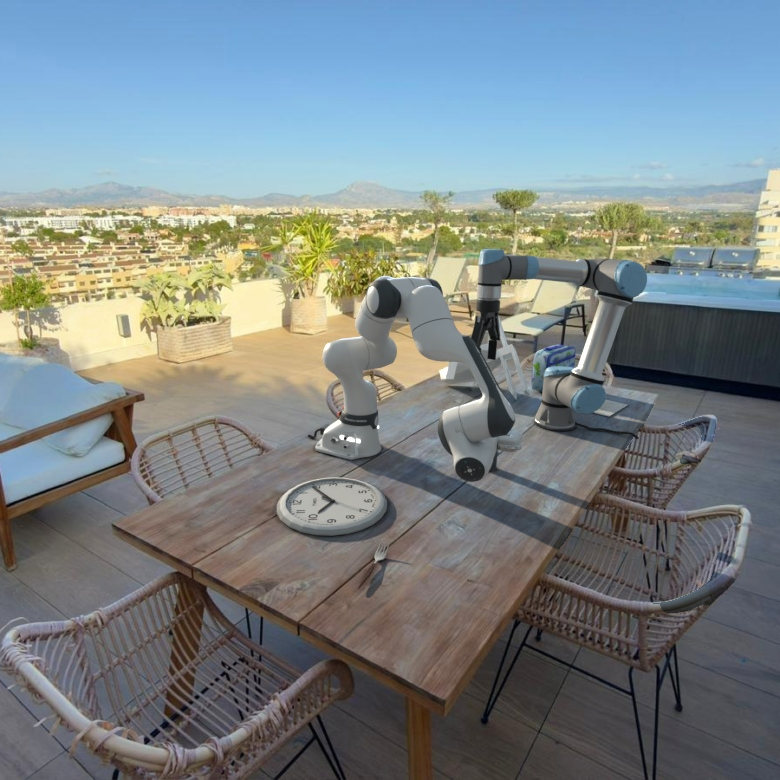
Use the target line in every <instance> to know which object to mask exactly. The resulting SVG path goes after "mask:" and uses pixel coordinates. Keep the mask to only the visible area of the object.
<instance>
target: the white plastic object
mask: <svg viewBox="0 0 780 780" xmlns="http://www.w3.org/2000/svg"><path fill="white" fill-rule="evenodd" d="M498 320H499V329H500V342H501V345H502V347H500V348H498V349H497V350H496V360H492V359H487V358H488V345H489V342H487V343H483V344H481V346H480V348H481V353H482V355H483V357H484V359H485V361H486V362H487V364H488V366H489V368H490V370H491V372H492V373H493V372H494V371H495V370H496V369H497V368H499V367H500V366H502V370H503V373H504V376H505V380H506V383H507V386H508V390H509V393H510V394H511V395H512V397H513V398H514V399H515V400H517V392H516V391H517V390H516V388H515V385H514V381H513V378H512V375H511V371H510V369H509V365H508V361H510V360H513V363H514V366H515V369H516V372H517V376H518V380H519V382H520V385H521V389H522V391H523V393H524V395H525V396H526V397H528V396H531V395H530V390H529V388H528V387H529V386H528V384H527V381H526V378H525V375H524V371H523V369H522V368H523V367H522V366H521V362H520V359H519V355H518V352H517V349H516V347H515V346H514V345H513V343H511V344H508V341H507V337H506V334H505V331H504V328H503V325H502V321H501V318H500V315H498ZM438 372H439V376H440V381H442V383H443V384H444V385H445V386H449V385H458V384H467V383H468V384H469V383H473V384H477V382H476V380H475V378H474V376H473V374H472V372H471V370H470V369H469V367H468V366H467V365H466V364H464V363H461V362H448V366H446V367H444V368H442V369H440V370H439V371H438Z"/></svg>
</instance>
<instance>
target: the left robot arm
mask: <svg viewBox="0 0 780 780" xmlns="http://www.w3.org/2000/svg"><path fill="white" fill-rule="evenodd" d="M365 292H366V293H365V295H364V297H363V299H362V301H361V304H360V307H359V308H358V309H359V310H358V312H357V315H356V317H355V319H354V325H355V329H356V330H355V331H356V332H357V333H358V335H360V336H356V337H346V338H339V339H335V340H333V341H331V342H328V343H326V344H325V346H324V347H323V350H322V356H321V357H322V362H323V365H324V367H325V368H326V370H328V371H329V372H330V373H331V374H333V375H334V376H335V377H336V378H337V379H338V381H339V383H340V385H341V388H342V395H343V406H342V407H341V408H340V410H339V411H338V412H337V415H336V417H337V418H338V419H337V420H335V421H334V422H332V423H331V424H328V423H327V424H325V425H323V426H321V427H319V428H317V429H315V430H314V433H313V435H311V434H308V435H307V437H308V438H310V439H315V438H316V437H317V435H318V432H320V433H319V434H320V435H321V436H322V438H321V439H319V440H318V441H317V443H316V444H315V448H314V449H315V451H316V452H318V453H324V454H327V455H331V456H334V457H338V458H342V459H346V460H349V461H353V460H357V459H360V458H368V457H369V458H370V457H372V456H375V455H377V454H379V453H380V452H381V451H382V445H381V443H380V438H379V430H378V429H380V425H379V417H380V416H379V409H378V389H377V387H376V386H375V384H374V383H373V382H371V381H369V380H367V379H365V378H364V374H363V373H364V372H365V371H369V370H376V369H382V368H384V367H387V366H389V365H392V364H393V363H394V362H395V361H396V359H397V356H398V348H397V345H396V342H395V340H394V339H393V338H392V337H391V336H390V333H391V331H392V327H393V326H394V323H395V321H396V319H397V320H400V319H407V320H408V322H409V328H410V332H411V335H412V339H413V342H414V345H415V347H416V349H417V351H418V353H419V354H420V355H421V356H423V357H424V358H426V359H427V360H431V361H434V362H441V363H443V362H445V363H449V362H461V363H464V364H466V365H467V366H468V367H469V369H470V370H471V372H472V374H473V376H474V378H475V380H476V382H477V383H476V384H477V386H478V388H479V390H480V393H481V395H482V396H481V397H480V398H478V399H475V400H472V401H470V402H466V403H463V404H459V405H456V406H453V407H451V408H448V409H446V410H443V411H442V413H441V414H440V416H439V419H438V423H437V434H438V438H439V441H440V443H441V445H442V447H443V449H445V451H446V452H447V453H448V454H449V455H451V456H452V460H453V470H454V472H455V474H456V476H457V477H458V478H459V479H460V480H462V481H465V482H468V483H474V482H475V483H476V482H479V481H482V480H483V479H484V478H485V477H486V476H487V475H488V473H490V472H489V470H490V468H491V466H492V463H493V458H494V456H495V453H496V450H498V451H500V452H506V453H515V452H517V451H521V450H522V447H523V445H522V441H523V433H522V432H521V431H519V430H513V427H514V426H515V423H516V416H515V411H514V409H513V406H512V405H511V403H510V402H509V400H508V399H507V397H506V396H505V394H504V393H503V391H502V389H501V388H500V386H499V383H498V381H497V380H496V378H495V376H494V374H493V371H492V372H491V370H490V368H489V366H488V364H487V362H486V361H485V359H484V357H483V355H482V353H481V352H480V350H479V348H478V346H477V345H476V343H475V342H474V341H473V340H472V338H471V336H470V335H467V334H462V333H461V332H460V330H459V329H458V328H457V326H456V324H455V321H454V318H453V315H452V313H451V309H450V308H449V305H448V303H447V300H446V298H445V297H444V291H443V288H442V286H441V284H440V283H439V281H438V280H436V279H433V278H431V277H425V276H424V277H414V276H403V277H392V276H389V275H382V276H378V277H377V278H375V280H374V281H372V282H371V283H370V284H369V285H368V287H367V288H366V291H365Z"/></svg>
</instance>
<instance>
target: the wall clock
mask: <svg viewBox="0 0 780 780" xmlns="http://www.w3.org/2000/svg"><path fill="white" fill-rule="evenodd" d="M387 509H388V500H387V498H386V496H385V494H384V493H383V492H382V491H381V490H380V489H379V488H377V487H376V486H374V485H372V484H371V483H369V482H365V481H362V480H359V479H355V478H349V477H338V476H337V477H335V476H333V477H332V476H331V477H322V478H317V479H312V480H307V481H305V482H302V483H299V484H297V485H295V486H293V487H292V488H290V489H288V490H287V491H286V492H285V493H284V494H283V495H281V496H280V498H279V499H278V502H277V503H276V515H277V517H278V518H279V520H280V521H281V522H282V523H283V524H285V525H286V526H287V527H288V528H290V529H293V530H295V531H297V532H299V533H303V534H308V535H312V536H327V537H328V536H329V537H331V536H332V537H333V536H342V535H350V534H352V533H356V532H361V531H363V530H366V529H368V528H369V527H372V526H373V525H375V524H376V523H378V522H379V521H380V520H381V519H382V518H383V517H384V516H385V514H386V512H387Z"/></svg>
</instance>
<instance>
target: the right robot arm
mask: <svg viewBox="0 0 780 780" xmlns="http://www.w3.org/2000/svg"><path fill="white" fill-rule="evenodd" d="M477 273H478V274H477V275H478V276H477V287H476V289H475V290H476V298H477V299H476V301H475V302H476V303H475V310H476V311H477V312H480V313H479V315H475V318H474V325H473V328H472V333H471V336H470V337H471V338H472V340H473V341H474V342H475V343H476V345H477V346H478V348H479V350H480V352H481V348H480V346H481V345H482V343H483V341H484V338H485V336H486V335H485V334H486V332H487V333H488V337H489V339H488V344H489V345H488V358H487V359H492V360H496V350H498V349H497V348H498V341H500V342H501V338H500V329H499V320H498V316H499V315H500V314H499V312H500V309H501V300H500V299H501V298H502V288H503V287H502V284H503V281H506V280H507V281H511V280H512V281H515V280H516V281H518V280H519V281H527V280H528V281H529V280H539V281H550V282H560V283H570V284H572V285H573V286H575V287H583V288H586V289H590V290H594V291H597V294H596V297H597V299H598V302H599V303H598V305H597V308H596V312H595V314H594V317H593V320H592V323H591V326H590V329H589V331H588V334H587V338H586V340H585V343H584V347H583V349H582V352H581V355H580V358H579V361H578V364H577V366H576V367H574V368H573V367H562V366H557V367H549V368H547V369H546V370H545V374H544V382H543V392H542V391H541V393H542V394H541V402H540V405H539V407H538V410H537V411H536V413H535V416H534V424H535V425H536V426H537V427H539V428H542V429H544V430H549V431H556V432H567V431H572V430H574V429H575V428H576V426H578V427H581V428H583V429H586V430H589V431H594V432H595V431H597V432H598V431H599V432H606V433H611V434H615V435H629V436H632V437H633V438H634V439H636V440H639V439H640V438H639V436H638V435H637V434H636V433H634V432H631V431H619V430H618V431H617V430H613V429H608V428H602V427H591V426H588V425H586V424H582V423H580V422H577V421H576V418H575V417H576V416H575V413H574V412H577V413H579V414H583V415H590V414H594V413H593V412H595V411H597V410H598V409H599V408H600V407H601V406H602V405H603V404H604V402H605V399H606V400H607V392H606V390H605V388H604V387H603V386H604V383H605V377H604V375H603V372H604V369H605V366H606V364H607V360H608V358H609V355H610V353H611V349H612V346H613V343H614V340H615V338H616V335H617V333H618V332H617V331H619V330H618V329H619V327H620V324H621V321H622V319H623V315H624V312H625V309H626V308H627V307H628V306H631V305H632V304H633V302H634V299H635V298H636V297H639V296H640V295H641V294H642V293H643V292H644V291H645V290H646V287H647V283H648V274H647V271H646V269H645V267H644V266H643V265H642V264H641V263H640V262H637V261H634V260H631V259H630V260H629V259H615V258H594V259H593V258H589V259H588V258H578V259H577V260H568V259H558V258H549V257H541V256H540V257H538V256H534V255H528V254H526V255H521V254H520V255H519V254H511V253H505V251H504V249H502V248H501V249H500V248H483V249H481V250H480V253H479V258H478V272H477Z"/></svg>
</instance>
